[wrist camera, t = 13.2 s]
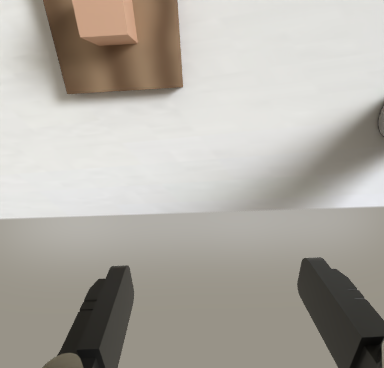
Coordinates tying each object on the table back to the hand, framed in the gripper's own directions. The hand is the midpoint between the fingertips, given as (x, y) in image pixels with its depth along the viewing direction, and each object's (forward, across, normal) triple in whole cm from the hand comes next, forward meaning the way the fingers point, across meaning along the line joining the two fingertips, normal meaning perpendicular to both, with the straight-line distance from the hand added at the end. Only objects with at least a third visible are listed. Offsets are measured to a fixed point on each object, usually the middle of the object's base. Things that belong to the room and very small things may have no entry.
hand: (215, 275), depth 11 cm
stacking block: (+26, +10, -16) cm, 32 cm away
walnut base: (+29, +10, -16) cm, 34 cm away
